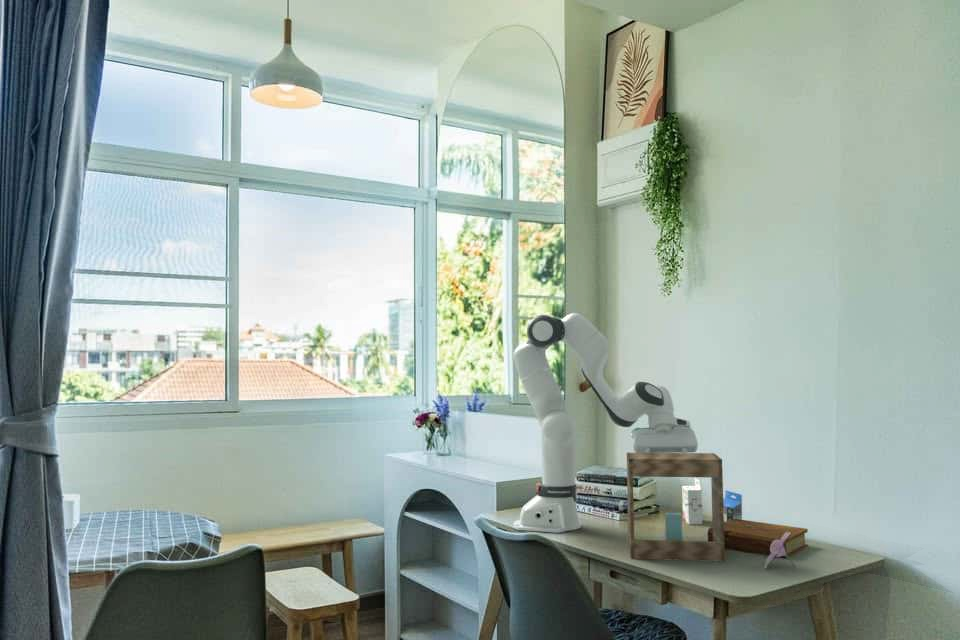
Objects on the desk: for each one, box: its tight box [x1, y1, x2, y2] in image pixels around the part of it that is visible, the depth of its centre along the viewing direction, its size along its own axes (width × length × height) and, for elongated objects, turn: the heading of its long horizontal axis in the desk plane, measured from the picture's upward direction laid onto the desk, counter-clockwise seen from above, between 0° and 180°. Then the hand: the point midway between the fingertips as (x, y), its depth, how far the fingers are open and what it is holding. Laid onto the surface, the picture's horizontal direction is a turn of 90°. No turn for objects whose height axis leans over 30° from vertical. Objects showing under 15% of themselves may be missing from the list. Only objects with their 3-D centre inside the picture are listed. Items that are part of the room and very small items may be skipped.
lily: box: [764, 532, 796, 570], centre depth 206 cm, size 12×12×10 cm
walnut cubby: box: [626, 452, 726, 562], centre depth 221 cm, size 26×14×28 cm, turn 82°
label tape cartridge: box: [723, 490, 743, 522], centre depth 249 cm, size 9×4×12 cm, turn 18°
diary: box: [707, 519, 809, 559], centre depth 228 cm, size 23×19×6 cm
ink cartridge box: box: [681, 477, 703, 525], centre depth 262 cm, size 9×5×15 cm, turn 179°
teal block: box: [664, 512, 683, 541], centre depth 222 cm, size 4×4×11 cm
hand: (667, 461), depth 242 cm, fingers open, 8 cm apart
